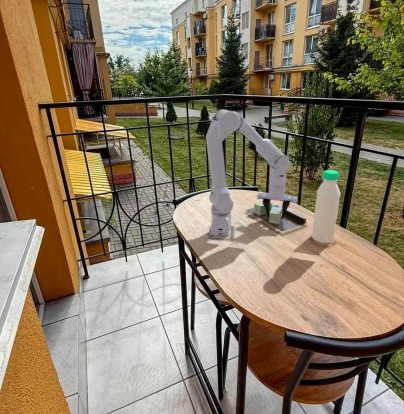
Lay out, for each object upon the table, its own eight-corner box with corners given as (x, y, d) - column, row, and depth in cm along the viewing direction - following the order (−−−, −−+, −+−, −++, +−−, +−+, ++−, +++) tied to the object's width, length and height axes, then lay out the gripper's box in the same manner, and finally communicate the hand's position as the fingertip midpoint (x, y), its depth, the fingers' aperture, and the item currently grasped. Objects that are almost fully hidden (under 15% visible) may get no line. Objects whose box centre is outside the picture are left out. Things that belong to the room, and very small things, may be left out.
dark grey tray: (281, 235, 101) (282, 226, 100) (245, 213, 120) (245, 205, 118) (305, 226, 106) (306, 218, 105) (267, 206, 125) (267, 199, 123)
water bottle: (335, 247, 92) (346, 175, 84) (313, 245, 94) (321, 174, 85) (331, 236, 99) (340, 168, 90) (309, 235, 100) (317, 168, 91)
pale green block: (279, 224, 106) (280, 214, 105) (268, 222, 107) (269, 213, 106) (282, 214, 114) (282, 205, 112) (272, 213, 115) (272, 204, 114)
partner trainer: (259, 215, 113) (259, 206, 112) (253, 212, 117) (253, 203, 115) (276, 210, 117) (277, 201, 116) (270, 207, 121) (270, 198, 119)
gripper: (298, 182, 105) (295, 215, 110) (260, 179, 111) (258, 210, 115) (297, 189, 99) (294, 223, 104) (256, 185, 105) (255, 218, 109)
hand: (275, 217), depth 109 cm, fingers open, 5 cm apart
